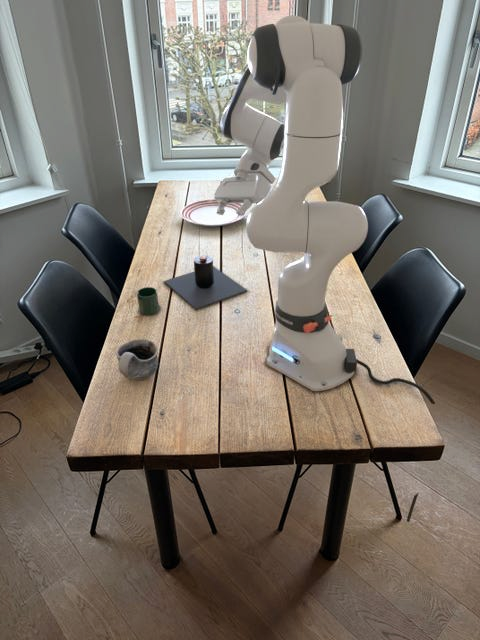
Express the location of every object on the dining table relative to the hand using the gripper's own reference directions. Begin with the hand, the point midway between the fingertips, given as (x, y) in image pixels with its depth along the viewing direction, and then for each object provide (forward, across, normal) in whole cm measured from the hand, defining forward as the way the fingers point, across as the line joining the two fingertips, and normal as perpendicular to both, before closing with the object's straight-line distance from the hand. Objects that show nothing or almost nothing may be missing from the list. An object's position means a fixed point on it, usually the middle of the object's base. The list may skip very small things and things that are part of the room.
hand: (229, 214), depth 136 cm
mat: (+20, -10, +11) cm, 25 cm away
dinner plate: (-15, -52, +28) cm, 61 cm away
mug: (+52, +13, -10) cm, 54 cm away
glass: (+34, -10, -3) cm, 36 cm away
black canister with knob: (+19, -10, +10) cm, 24 cm away
